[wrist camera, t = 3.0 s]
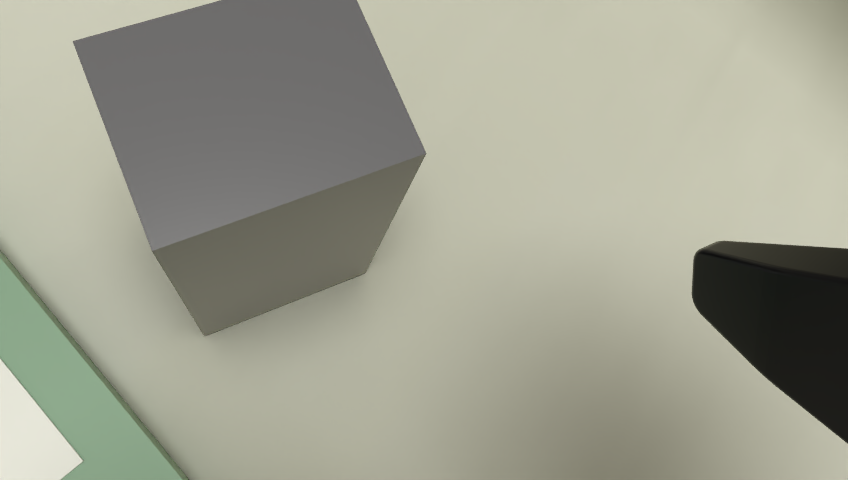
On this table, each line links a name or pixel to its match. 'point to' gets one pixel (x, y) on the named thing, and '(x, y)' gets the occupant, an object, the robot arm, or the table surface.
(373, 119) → the grey square pillar
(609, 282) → the table surface
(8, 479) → the board
